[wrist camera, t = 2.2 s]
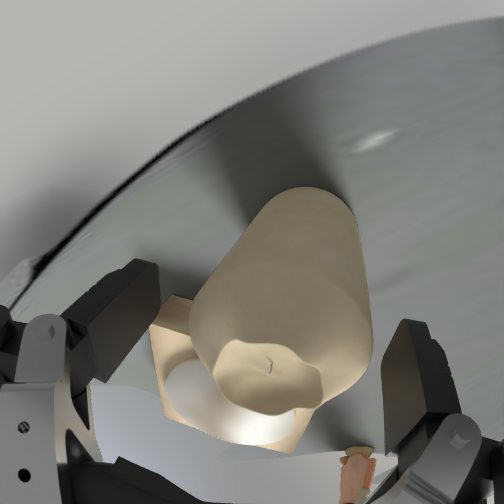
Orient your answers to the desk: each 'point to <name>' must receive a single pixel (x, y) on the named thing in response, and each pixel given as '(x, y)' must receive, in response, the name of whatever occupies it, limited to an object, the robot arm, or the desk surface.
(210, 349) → the candle
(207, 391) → the candle stand
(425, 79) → the desk surface
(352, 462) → the grandmother figurine
